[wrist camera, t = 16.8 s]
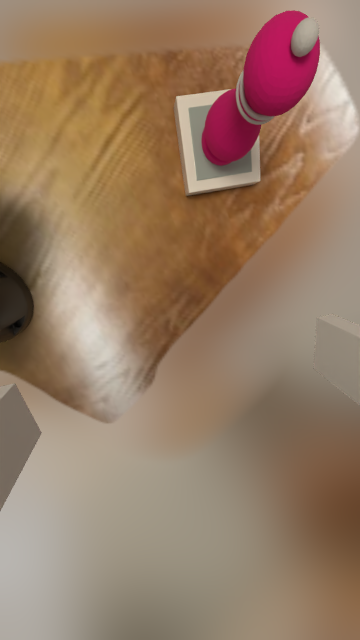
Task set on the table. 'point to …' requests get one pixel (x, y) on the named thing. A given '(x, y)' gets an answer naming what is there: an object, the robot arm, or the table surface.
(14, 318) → the robot arm
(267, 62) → the pepper mill
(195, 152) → the base
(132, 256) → the table surface
